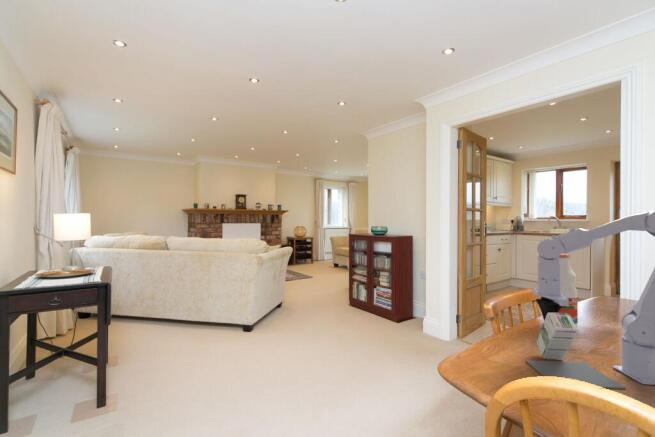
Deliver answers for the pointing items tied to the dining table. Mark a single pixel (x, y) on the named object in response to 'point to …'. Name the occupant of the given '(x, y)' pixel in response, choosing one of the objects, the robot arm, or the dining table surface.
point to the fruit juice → (569, 288)
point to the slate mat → (574, 372)
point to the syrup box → (556, 335)
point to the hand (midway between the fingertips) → (549, 323)
